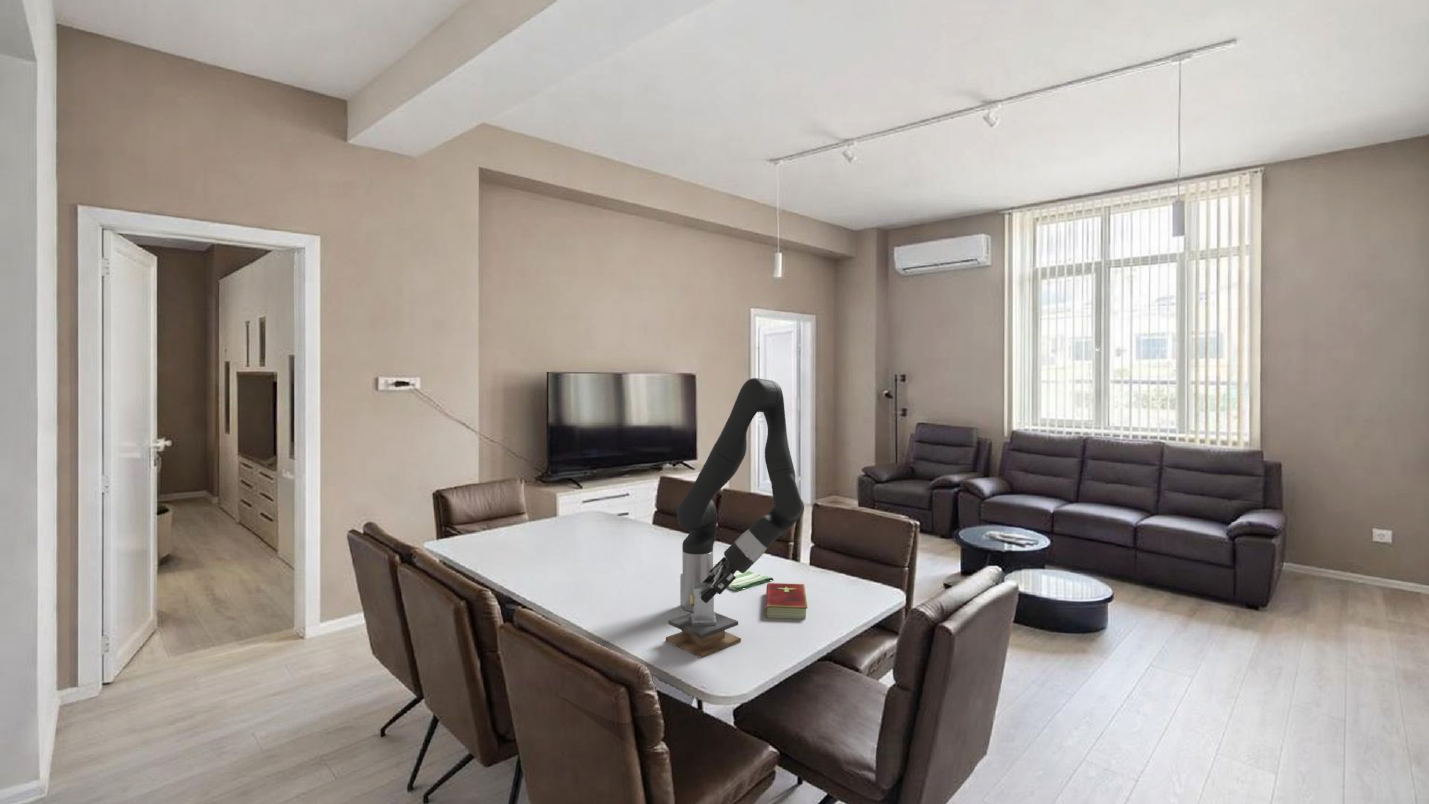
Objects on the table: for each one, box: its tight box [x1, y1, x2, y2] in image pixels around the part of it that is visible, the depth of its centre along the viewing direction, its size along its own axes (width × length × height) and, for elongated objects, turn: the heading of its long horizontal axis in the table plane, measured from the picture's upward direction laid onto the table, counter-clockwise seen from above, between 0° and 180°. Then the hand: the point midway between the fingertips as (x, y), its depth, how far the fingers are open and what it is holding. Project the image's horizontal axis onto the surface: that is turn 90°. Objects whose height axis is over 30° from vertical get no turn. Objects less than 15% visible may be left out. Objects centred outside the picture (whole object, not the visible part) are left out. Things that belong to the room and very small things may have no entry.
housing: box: [690, 582, 717, 626], centre depth 173 cm, size 6×7×9 cm
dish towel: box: [713, 563, 774, 592], centre depth 227 cm, size 18×23×3 cm
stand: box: [665, 611, 742, 658], centre depth 174 cm, size 14×14×6 cm
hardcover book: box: [765, 582, 808, 619], centre depth 200 cm, size 12×21×4 cm, turn 175°
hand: (702, 594), depth 173 cm, fingers open, 8 cm apart
